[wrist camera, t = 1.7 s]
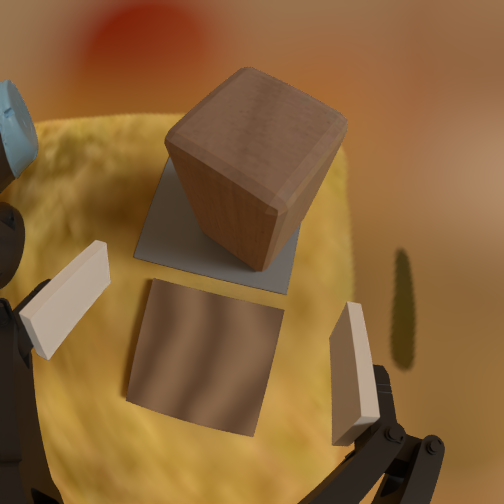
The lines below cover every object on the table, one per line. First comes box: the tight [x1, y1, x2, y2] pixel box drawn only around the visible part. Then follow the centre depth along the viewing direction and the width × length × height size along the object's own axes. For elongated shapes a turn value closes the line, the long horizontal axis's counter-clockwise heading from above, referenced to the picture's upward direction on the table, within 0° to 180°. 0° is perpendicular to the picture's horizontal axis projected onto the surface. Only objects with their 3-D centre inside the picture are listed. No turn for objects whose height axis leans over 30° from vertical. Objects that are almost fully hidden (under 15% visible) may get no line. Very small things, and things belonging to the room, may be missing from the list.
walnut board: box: [126, 278, 284, 437], centre depth 33 cm, size 16×16×2 cm
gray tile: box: [134, 157, 301, 295], centre depth 38 cm, size 20×20×1 cm
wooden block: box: [164, 67, 347, 272], centre depth 28 cm, size 10×10×20 cm
